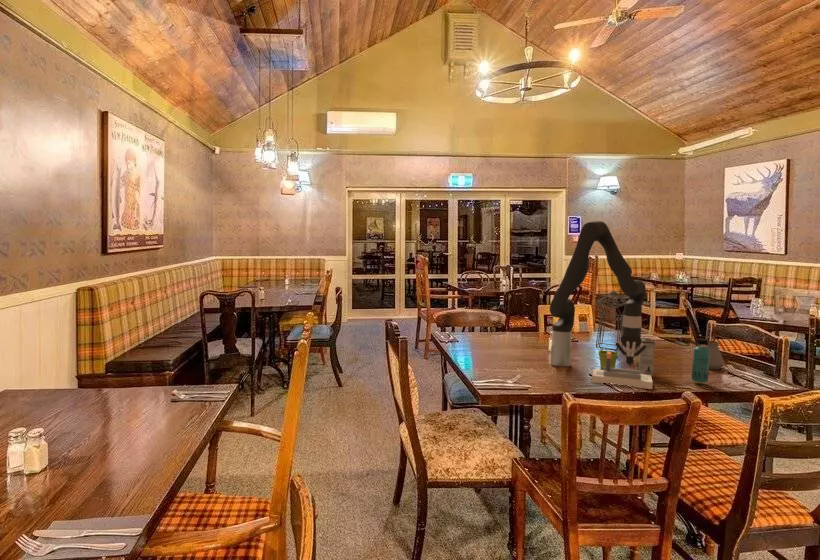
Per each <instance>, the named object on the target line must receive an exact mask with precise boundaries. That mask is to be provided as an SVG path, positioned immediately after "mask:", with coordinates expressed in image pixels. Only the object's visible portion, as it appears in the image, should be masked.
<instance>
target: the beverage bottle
mask: <svg viewBox="0 0 820 560" xmlns="http://www.w3.org/2000/svg"><path fill="white" fill-rule="evenodd" d="M696 341H697V342H696V343H697V344H700V345H702V346H698V345H695V346H694V348H693V358H692V368H691V380H692V381H693V382H698V383H708V381H709V371H710V369H709V357H710V349H709V348H708V347H706V345H708V341H709V340H708V339H705V338H698V339H697V340H696ZM704 346H705V347H704Z"/></svg>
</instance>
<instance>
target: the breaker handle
mask: <svg viewBox="0 0 820 560" xmlns="http://www.w3.org/2000/svg"><path fill="white" fill-rule="evenodd" d="M606 351H607V364H606V369H605V371H610V372H612V369H610V362H611V352H608V351H609V350H606Z"/></svg>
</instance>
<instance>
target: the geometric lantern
mask: <svg viewBox="0 0 820 560" xmlns="http://www.w3.org/2000/svg"><path fill="white" fill-rule="evenodd" d="M609 296H610V297H609ZM608 297H609V299H606V298H608ZM615 299H616V300H615ZM618 299H619V300H618ZM627 301H628V300H627V299H626V298H624V297H623V296H621V295H620V293H618V292H617V291H610V292H608V293H607V294H606V295H603V296H601V297H600V298H598V300H597V301H596V302H597V304H598V305H597V306H598V309H599V316H600V317H599V322H598V330H597V335H596V342H595V348H596V349H597V350H598V351H613V352H617V353H619V352H621V351H620V350H619V349H618V347H617V346H616V344H614V343H613V344H610V343H605V342H604V335H605V334H604V333H605V326H606V319H607V318H610V316H611V318H612V319H613V318H615V319H617V335H616V337H617V338H616V342H618V341H620V340H621V337H622V327H623V324H622V323H623V317H624V310H623V312H621V311H620V310H619V308H620V307H623V306H625V303H626V302H627ZM606 304H607V305H606ZM602 305H603V306H604V307H606V309H605V311H603V308H602ZM616 309H617V310H618V312H619V314H618V313H617V311H616ZM609 310H613V311H614V312H615V313H614V314H613V313H608V312H609ZM601 312H602V313H601ZM621 313H622V314H621ZM608 315H610V316H608ZM603 319H604V322H603ZM603 342H604V343H603ZM621 344H622V343H621ZM603 345H605V346H615V347H616V348H611V347H610V348H609V347H603ZM621 347H622V348H623V349H624V345H623V344H622V345H621Z"/></svg>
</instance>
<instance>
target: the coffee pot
mask: <svg viewBox="0 0 820 560" xmlns="http://www.w3.org/2000/svg"><path fill="white" fill-rule="evenodd" d="M679 340H680V342H682V341H683V340H684V341H686V342H688V343H690V344H693V345H695V346H704V347H708V348H709V349H710V357H709V370H720V369H721V368H723V367H724V366H725V365H726V363H725V361H724V358H723V356H722V354H721V350H720V348H719V345H721V342H719V341H714V340H708V345H701V344H697V342H695V341H693V340H692V339H688V338H687V337H683V336H681V337H680V338H679Z"/></svg>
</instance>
